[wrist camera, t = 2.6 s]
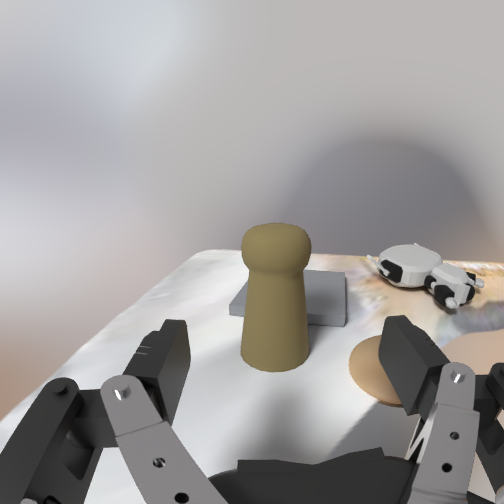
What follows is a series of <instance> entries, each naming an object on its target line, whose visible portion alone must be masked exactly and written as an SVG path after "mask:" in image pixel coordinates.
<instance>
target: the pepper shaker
mask: <svg viewBox="0 0 504 504" xmlns="http://www.w3.org/2000/svg"><path fill="white" fill-rule="evenodd" d="M241 248H242V258H243V261H244V264H245V265H246V266H247V267H248V269H249V278H248V287H247V296H246V305H245V314H244V324H243V333H242V342H241V356H242V358H243V360H244V361H245V362H246V363H247V364H249V365H250V366H251V367H254V368H256V369H258V370H261V371H268V372H284V371H288V370H291V369H295V368H297V367H298V366H300V365H302V364H303V363H304V362H305V361H306V359H307V358H308V355H309V337H308V322H307V309H306V297H305V285H304V275H303V270H304V268H305V267H306V266H307V265H308V262H309V259H310V255H311V241H310V238H309V236H308V234H307V233H306V232H305V230H303V229H302V228H300V227H298V226H295V225H290V224H283V223H269V224H263V225H257V226H254V227H252V228H251V229H249V230H248V231H247V232H246V233H245V235H244V237H243V240H242V247H241Z"/></svg>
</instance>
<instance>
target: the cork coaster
mask: <svg viewBox="0 0 504 504" xmlns="http://www.w3.org/2000/svg"><path fill="white" fill-rule="evenodd" d="M381 336H382V335H379V336H374V337H371V338H368V339H366V340H364V341H362V342H360V343H359V344H358V345H357V346H356V347H355V348H354V349H353V351H352V353H351V355H350V359H349V371H350V374H351V376H352V378H353V380H354V381H355V383H356V384H357V385H358V386H359V387H360V388H361V389H362V390H363V391H365V392H366V393H368V394H369V395H371V396H373V397H375V398H377V399H378V400H377V401H376V402H377V403H381V404H383V405H387V406H391V407H398V408H404V407H403V405H402V403H401V401H400V399H399V398H398V396H397V394H396V392H395V390H394V388H393V386H392V384H391V382H390V380H389V378H388V377H387V375H386V373H385V371H384V369H383V367H382V365H381V364H380V361H379V357H378V349H379V344H380V340H381Z"/></svg>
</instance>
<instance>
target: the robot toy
mask: <svg viewBox="0 0 504 504" xmlns="http://www.w3.org/2000/svg"><path fill="white" fill-rule="evenodd" d="M367 257H368V259H369V260H371V261H372V262H373V263H374V264H375V265H377V266H378V268H377V270H378V271H379V273H380V275H381V276H382V277H384V278H386V279H388V280H389V282H390V283H391V284H393V285H394V286H396V287H410V288H412V287H420V286H424V285H425V286H426V287H427V288H428V290H429V292H431V293H432V294H433V295H434V296H435V299H436V300H437V301H438V302H439V303H440V304H441V305H442V306H447V307H449V308H458V307H459V305H460V304H461V303H465V302H466V301H469V300H471V299H472V298H473V297H474V295H475V289H474V287H473V286H474V285H475V286H477V287H478V288H483V287H484V281H483V280H481V279H479V278H478V279H475V278H476V275H475V274H472V273H469V272H465V270H463V269H461V268H458V267H456V266H453V265H451V264H448V263H444V264H443V261H442V259H441V257H440V256H439V254H438V253H436V252H433V251H431V250H429V249H426V248H424V247H422V246H419V245H418V244H416V243H414V245H399V246H393V247H391V248H388V249H387V250H385V251H383V252H382V253H381V254H380V257H379V262H378V263H377V262H376V261H375V260H374V259H373V258H372V257H371V256H370V255H367Z"/></svg>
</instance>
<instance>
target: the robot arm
mask: <svg viewBox="0 0 504 504" xmlns="http://www.w3.org/2000/svg"><path fill="white" fill-rule="evenodd" d="M378 357H379V361H380V364H381V365H382V367H383V369H384V371H385V373H386V375H387V377H388V378H389V380H390V382H391V384H392V386H393V388H394V390H395V392H396V394H397V396H398V398H399V399H400V401H401V403H402V405H403V407H404V409H405V411H406V413H407V415H408V416H409V415H413V414H418V413H419V414H420V418H419V420H418V423H417V425H416V429H415V431H414V434H413V437H412V439H411V442H410V445H409V447H408V450H407V452H406V455H405V457H404V459H403V458H398V457H392V456H384V453H383V450H382V448H381V447H379V448H375V449H370V450H364V451H358V452H353V453H348V454H345V455H343V456H340V457H337V458H334V459H331V460H328V461H325V462H322V463H319V464H315V465H309V464H301V463H293V462H286V461H280V460H238V466H237V469H234V470H229V471H225V472H221V473H219V474H216V475H213V476H211V477H209V478H207V477H206V476H205V475H204V473H203V472H202V471H201V469H200V468H199V467H198V465H197V464H196V463H195V461H194V460H193V459H192V457H191V456H190V454H189V453H188V452H187V450H186V449H185V447H184V446H183V444H182V443H181V441H180V440H179V438H178V437H177V436H176V434H175V432H174V431H173V429H172V428H171V426H172V423H173V420H174V416H175V413H176V410H177V406H178V403H179V400H180V397H181V393H182V390H183V387H184V384H185V380H186V377H187V374H188V371H189V367H190V361H191V354H190V346H189V339H188V332H187V325H186V322H185V320H171V319H166V320H165V322H164V323H163V325H162V327H161V329H160V331H152V332H151V333H149V334H148V335H147V336H145V337H144V339H143V340H142V342H141V344H140V347H138V349H137V350H136V354H134V355H133V357H132V359H131V360H130V362H129V364H128V366H127V367H126V369H125V371H124V372H123V374H122V375H118V376H114V377H112V378H110V379H108V380H107V381H105V382H104V384H103V385H102V387H101V389H93V390H80V389H79V387H78V385H77V383H76V382H75V381H74V380H72V379H70V378H57V379H54V380H52V381H50V382H48V383H47V384H46V385H45V386H44V388H43V389H42V391H41V392H40V393H39V395H38V396H37V398H36V399H35V401H34V402H33V404H32V405H31V406H30V408H29V409H28V411H27V412H26V414H25V415H24V417H23V419H22V420H21V422H20V423H19V425H18V426H17V428H16V429H15V431H14V433H13V434H12V436H11V437H10V439H9V441H8V442H7V444H6V446H5V447H4V449H3V451H2V452H1V454H0V504H84V501H85V498H86V495H87V492H88V489H89V486H90V483H91V480H92V478H93V475H94V472H95V469H96V466H97V464H98V461H99V458H100V456H101V453H102V450H103V448H109V447H119V449H120V451H121V453H122V455H123V458H124V460H125V462H126V464H127V466H128V469H129V471H130V473H131V475H132V477H133V479H134V481H135V483H136V485H137V487H138V489H139V491H140V492H141V494H142V496H143V498H144V500H145V502H146V503H147V504H504V429H503V428H502V426H501V425H500V423H499V421H498V420H497V417H498V415H499V414H500V412H501V410H502V409H503V410H504V363H496V364H494V365H493V366H492V368H491V370H490V372H489V374H488V375H475V373H474V372H473V370H472V369H470V367H468V366H467V365H465V364H462V363H457V362H452V363H451V362H450V361H449V360H448V359H447V357H446V356H445V355H444V354H443V353H442V351H441V350H440V349H439V348H438V346H437V345H435V343H434V342H433V340H431V338H430V337H429V336H428V335H427V333H426V332H425V331H423V330H422V329H420V328H419V327H417V326H414V325H413V324H412V323H411V322H410V321H409V319H408V318H407V317H406V316H405V315H399V316H389V317H387V318H386V320H385V323H384V327H383V332H382V336H381V340H380V344H379V349H378ZM475 451H476V453H477V455H478V457H479V459H480V461H481V463H482V465H483V467H484V469H485V471H486V473H487V476H488V478H489V480H490V483H491V485H492V487H493V489H494V492H495V494H496V496H495V503H493V502H491V501H489V500H487V499H484V498H482V497H480V496H478V495H476V494H474V493H471V492H469V491H467V489H468V486H469V481H470V477H471V472H472V467H473V462H474V456H475Z"/></svg>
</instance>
